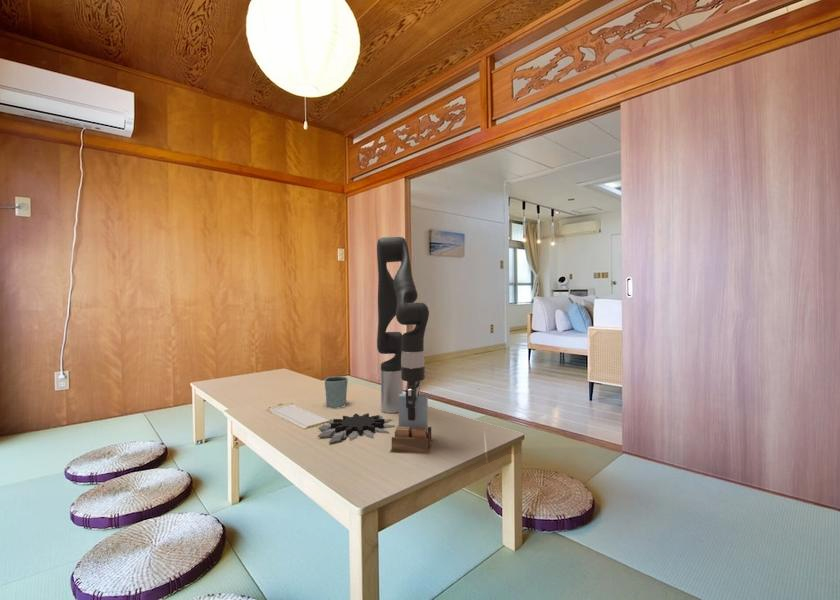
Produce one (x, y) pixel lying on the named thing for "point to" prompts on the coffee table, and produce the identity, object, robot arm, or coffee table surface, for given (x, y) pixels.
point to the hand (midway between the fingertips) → (413, 416)
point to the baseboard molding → (299, 416)
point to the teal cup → (336, 391)
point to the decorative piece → (354, 427)
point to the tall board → (420, 412)
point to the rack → (412, 444)
